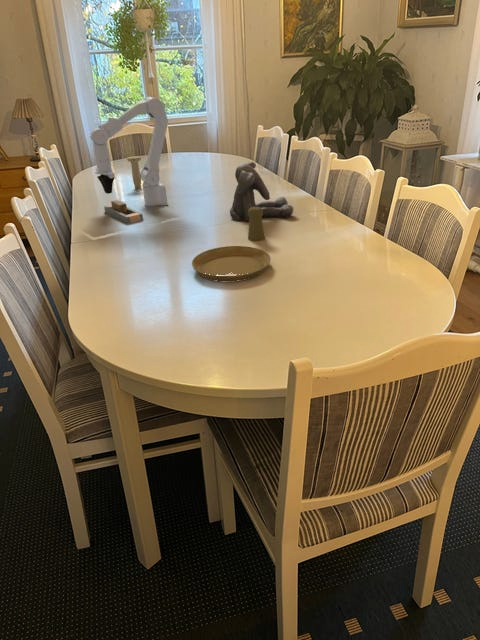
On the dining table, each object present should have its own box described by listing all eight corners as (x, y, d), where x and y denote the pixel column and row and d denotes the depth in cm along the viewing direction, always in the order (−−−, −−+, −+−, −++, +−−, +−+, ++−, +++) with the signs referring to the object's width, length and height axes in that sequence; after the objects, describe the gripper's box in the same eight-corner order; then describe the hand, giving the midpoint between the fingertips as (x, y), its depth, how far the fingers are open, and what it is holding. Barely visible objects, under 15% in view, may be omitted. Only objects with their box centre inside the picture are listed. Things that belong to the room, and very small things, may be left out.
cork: (267, 235, 185) (266, 205, 180) (262, 241, 180) (261, 210, 175) (250, 234, 187) (249, 204, 182) (245, 240, 182) (244, 209, 177)
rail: (121, 210, 223) (120, 202, 222) (144, 221, 207) (143, 213, 206) (104, 214, 219) (102, 206, 218) (126, 226, 203) (125, 217, 202)
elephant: (294, 221, 199) (294, 166, 189) (229, 224, 199) (226, 170, 189) (290, 206, 217) (289, 155, 207) (230, 209, 217) (227, 159, 208)
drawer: (119, 211, 219) (117, 200, 216) (127, 215, 213) (126, 203, 210) (113, 213, 217) (111, 201, 215) (121, 217, 211) (119, 205, 209)
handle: (144, 188, 257) (140, 157, 250) (131, 189, 256) (126, 158, 249) (144, 186, 261) (140, 155, 254) (132, 187, 260) (127, 156, 253)
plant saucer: (244, 291, 145) (243, 280, 143) (176, 277, 157) (175, 266, 155) (284, 262, 163) (284, 252, 161) (221, 251, 174) (220, 241, 173)
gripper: (86, 159, 215) (92, 191, 221) (100, 163, 204) (106, 197, 211) (102, 156, 218) (108, 188, 225) (117, 160, 208) (122, 194, 214)
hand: (108, 192), depth 218 cm, fingers closed
